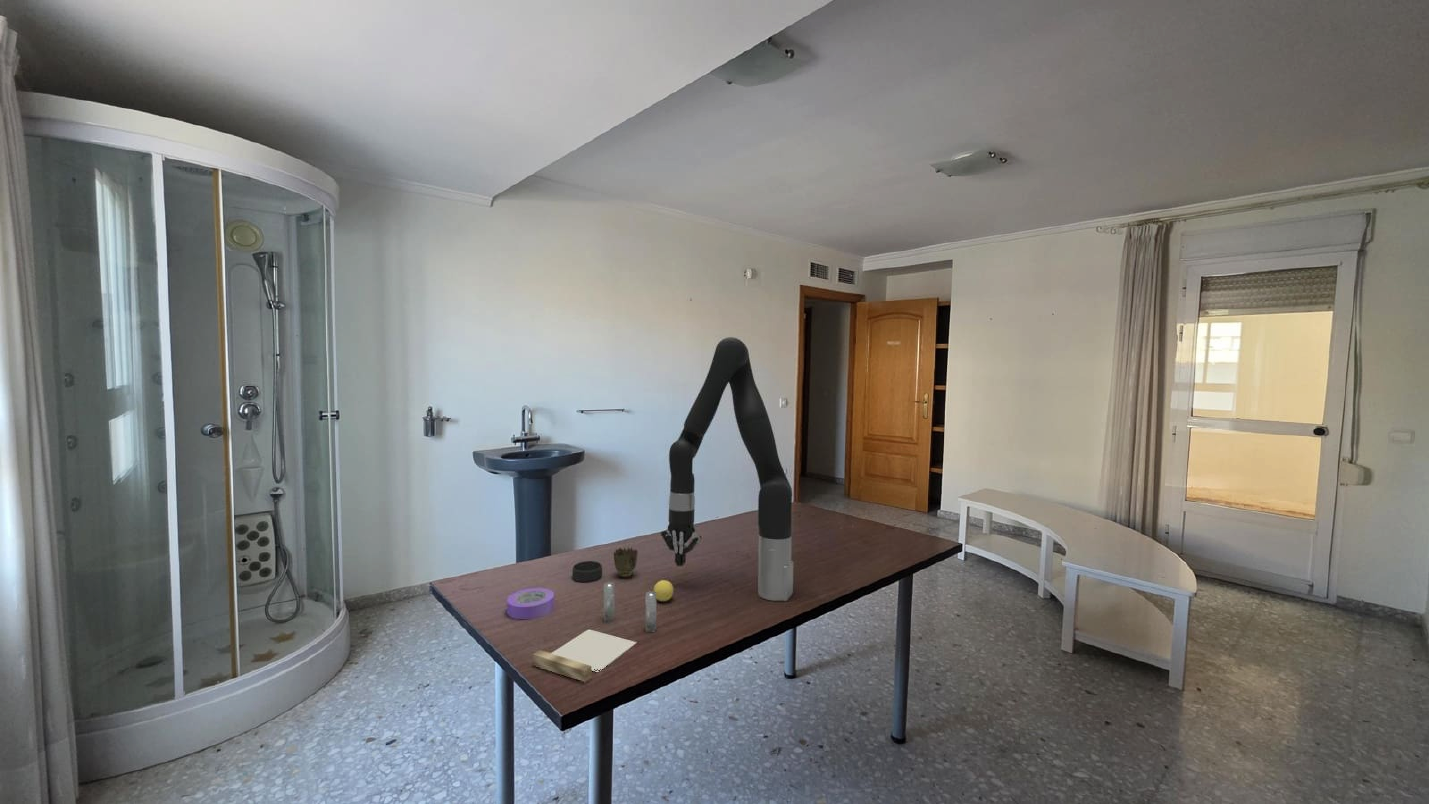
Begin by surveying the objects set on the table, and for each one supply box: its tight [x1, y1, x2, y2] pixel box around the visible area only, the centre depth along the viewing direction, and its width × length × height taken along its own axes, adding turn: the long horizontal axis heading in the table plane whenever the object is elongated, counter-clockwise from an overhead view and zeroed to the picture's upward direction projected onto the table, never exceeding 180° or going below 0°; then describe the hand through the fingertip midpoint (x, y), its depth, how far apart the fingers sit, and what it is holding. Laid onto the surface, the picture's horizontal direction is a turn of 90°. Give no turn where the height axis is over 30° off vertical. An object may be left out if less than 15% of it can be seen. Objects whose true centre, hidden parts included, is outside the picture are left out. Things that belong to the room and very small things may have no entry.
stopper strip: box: [532, 649, 592, 682], centre depth 107 cm, size 14×2×2 cm, turn 64°
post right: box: [644, 590, 657, 633], centre depth 126 cm, size 3×3×9 cm
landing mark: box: [550, 629, 637, 673], centre depth 116 cm, size 14×14×1 cm
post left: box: [603, 581, 615, 622], centre depth 131 cm, size 3×3×9 cm
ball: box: [653, 579, 674, 602], centre depth 143 cm, size 6×6×6 cm
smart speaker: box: [572, 560, 603, 583], centre depth 160 cm, size 9×9×4 cm
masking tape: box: [506, 587, 555, 620], centre depth 136 cm, size 12×12×4 cm
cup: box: [612, 547, 638, 579], centre depth 160 cm, size 8×7×8 cm
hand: (680, 565), depth 152 cm, fingers closed
